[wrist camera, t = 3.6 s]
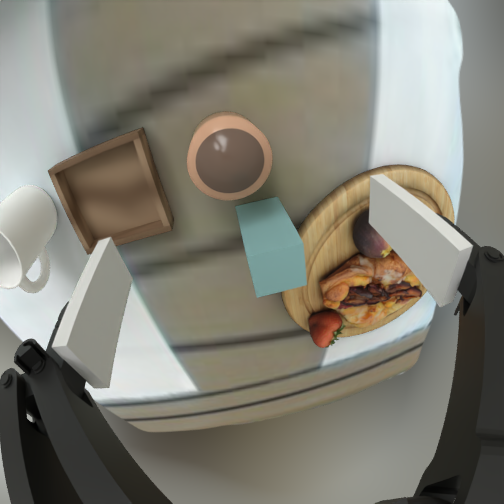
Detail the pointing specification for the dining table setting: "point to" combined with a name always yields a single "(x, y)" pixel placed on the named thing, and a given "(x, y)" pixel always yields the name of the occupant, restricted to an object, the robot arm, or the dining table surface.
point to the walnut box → (113, 192)
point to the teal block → (271, 247)
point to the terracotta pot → (228, 156)
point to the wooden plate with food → (357, 260)
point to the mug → (25, 237)
